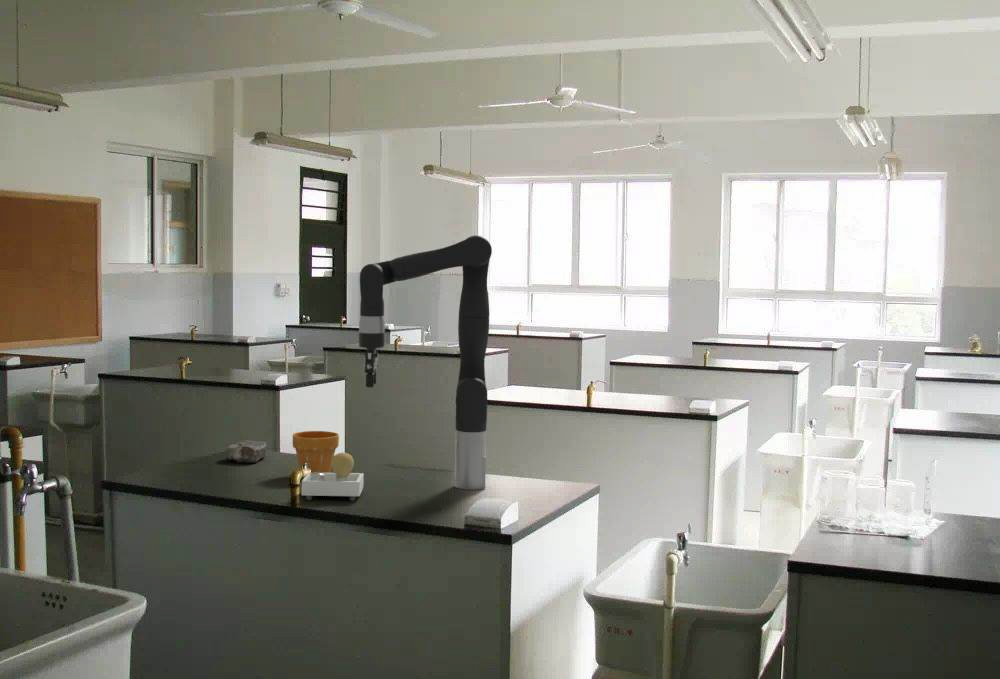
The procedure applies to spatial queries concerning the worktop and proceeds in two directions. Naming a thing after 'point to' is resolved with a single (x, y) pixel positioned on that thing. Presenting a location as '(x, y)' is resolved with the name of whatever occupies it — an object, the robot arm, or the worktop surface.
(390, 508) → the worktop surface
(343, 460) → the amber frosted bulb
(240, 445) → the rock
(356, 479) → the tray
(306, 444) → the flower pot
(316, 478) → the grey rounded piece
